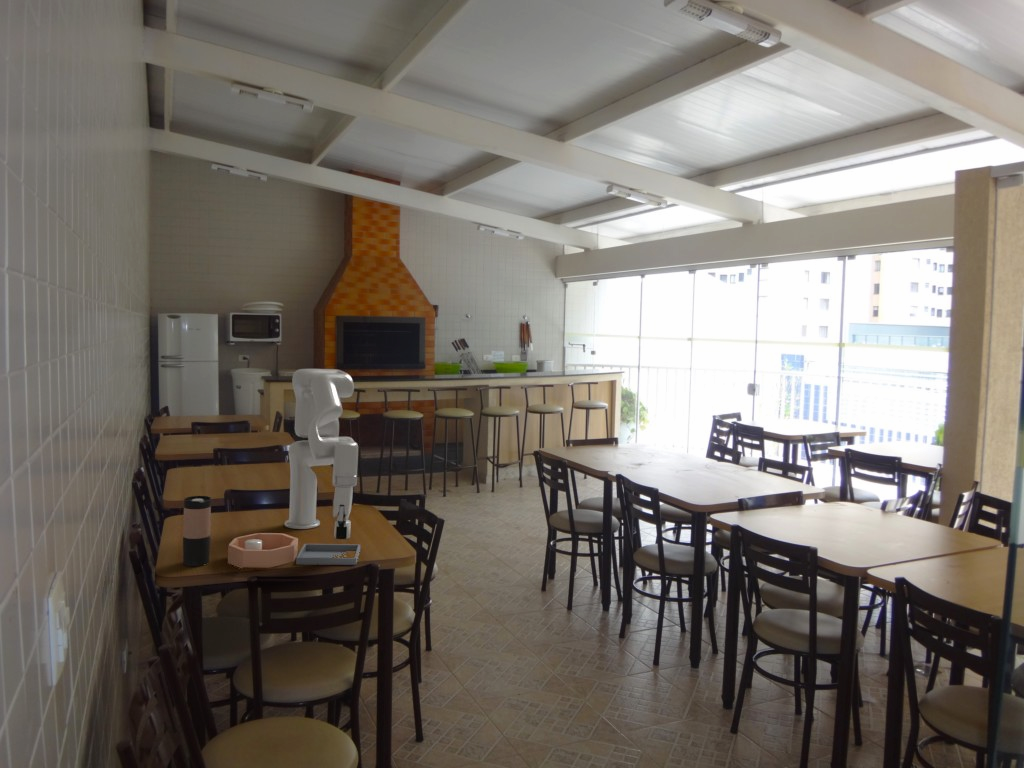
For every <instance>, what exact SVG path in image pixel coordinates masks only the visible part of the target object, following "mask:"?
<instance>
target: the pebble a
mask: <svg viewBox="0 0 1024 768" xmlns="http://www.w3.org/2000/svg"><path fill="white" fill-rule="evenodd" d="M245 549H246V550H262V540H259V539H251V540H247V541H245Z"/></svg>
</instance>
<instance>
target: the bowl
mask: <svg viewBox="0 0 1024 768" xmlns="http://www.w3.org/2000/svg"><path fill="white" fill-rule="evenodd" d="M251 539H259V540H262V550H246V549H245V541H247V540H251ZM298 554H299V538H298V537H294V536H292V535H290V534H286V533H278V532H277V533H276V532H275V533H274V532H257V533H251V534H246V535H242V536H237V537H234V538H233V539H232V541H230V542H229V544H228V545H227V564H228V563H230V564H232V565H234V566H233V567H235V566H237V567H240V568H241V569H240V568H239V569H240V570H242V569H244V568H269V569H270V568H274V567H277V566H281V565H286V564H287V565H288V564H290V563H294V561H296V558H297V556H298ZM230 564H229V565H230ZM232 565H231V566H232ZM237 567H236V568H237Z"/></svg>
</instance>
